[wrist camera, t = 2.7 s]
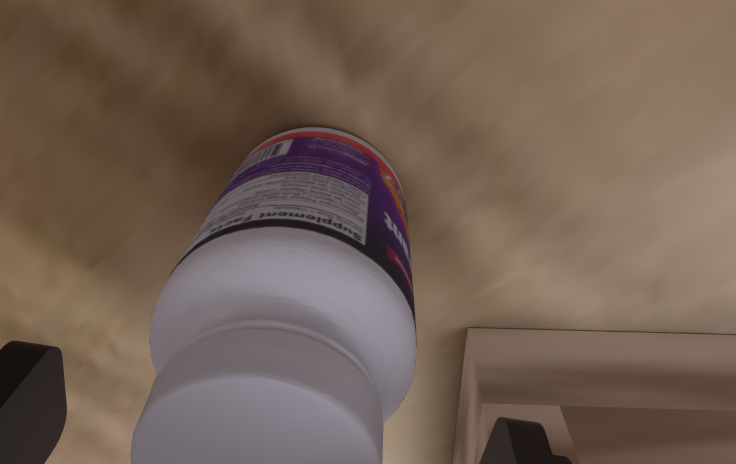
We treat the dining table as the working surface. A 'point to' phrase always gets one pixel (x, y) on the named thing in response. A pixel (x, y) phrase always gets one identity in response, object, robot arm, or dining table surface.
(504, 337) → the maple riser
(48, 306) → the dining table surface
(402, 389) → the pill bottle
